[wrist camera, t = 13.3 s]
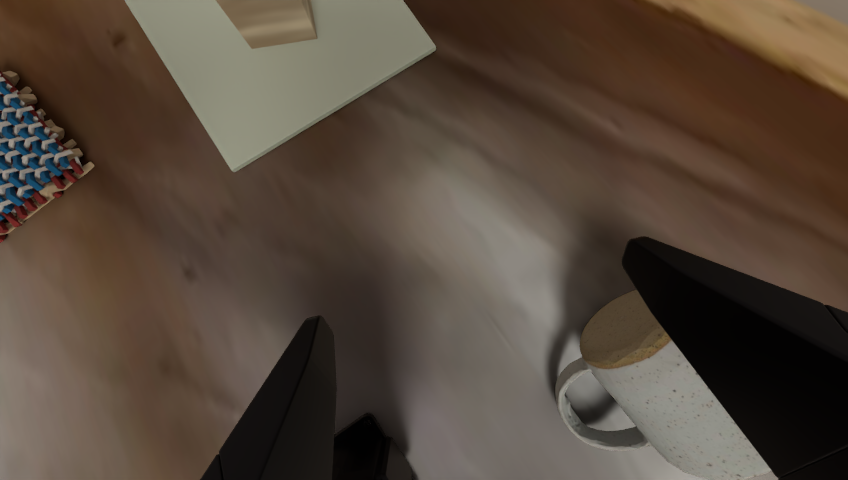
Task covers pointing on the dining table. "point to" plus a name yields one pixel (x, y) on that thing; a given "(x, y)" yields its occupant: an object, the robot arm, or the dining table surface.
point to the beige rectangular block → (271, 20)
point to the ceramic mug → (655, 396)
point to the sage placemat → (278, 66)
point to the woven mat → (30, 156)
